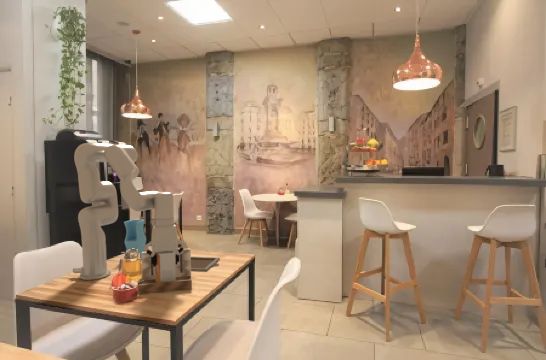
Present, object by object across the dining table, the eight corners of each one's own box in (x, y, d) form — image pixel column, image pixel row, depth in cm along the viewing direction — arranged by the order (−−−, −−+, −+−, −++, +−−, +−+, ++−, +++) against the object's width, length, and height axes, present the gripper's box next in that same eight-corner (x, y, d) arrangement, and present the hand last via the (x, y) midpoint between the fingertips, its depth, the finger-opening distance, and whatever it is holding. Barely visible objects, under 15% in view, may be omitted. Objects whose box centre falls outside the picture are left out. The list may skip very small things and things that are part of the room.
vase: (125, 259, 181) (123, 222, 180) (133, 255, 188) (132, 219, 187) (138, 260, 179) (137, 222, 178) (146, 256, 187) (145, 219, 186)
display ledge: (138, 294, 132) (137, 258, 131) (143, 282, 146) (141, 249, 145) (191, 289, 137) (190, 254, 136) (191, 277, 151) (190, 246, 150)
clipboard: (170, 255, 183) (224, 257, 178) (170, 258, 183) (224, 260, 178) (152, 266, 164) (212, 269, 159) (152, 270, 164) (212, 272, 159)
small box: (155, 281, 143) (154, 250, 142) (170, 278, 146) (169, 248, 145) (160, 287, 136) (159, 254, 135) (176, 284, 139) (175, 252, 139)
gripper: (140, 225, 134) (142, 269, 135) (186, 222, 138) (187, 265, 139) (142, 222, 141) (144, 263, 142) (186, 219, 145) (187, 260, 146)
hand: (165, 264), depth 141 cm, fingers open, 8 cm apart
